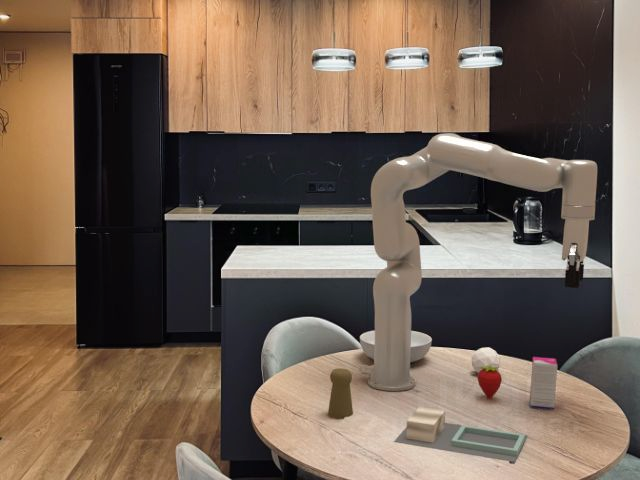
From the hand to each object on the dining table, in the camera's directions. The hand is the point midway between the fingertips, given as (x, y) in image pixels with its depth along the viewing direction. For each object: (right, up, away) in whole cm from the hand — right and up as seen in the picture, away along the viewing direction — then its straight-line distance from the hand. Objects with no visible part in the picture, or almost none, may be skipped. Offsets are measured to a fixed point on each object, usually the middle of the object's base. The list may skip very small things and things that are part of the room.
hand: (574, 283), depth 204 cm
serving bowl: (-39, -25, +44) cm, 64 cm away
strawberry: (-18, -30, +11) cm, 37 cm away
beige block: (-37, -33, -14) cm, 51 cm away
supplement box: (-6, -31, +7) cm, 32 cm away
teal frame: (-24, -34, -19) cm, 46 cm away
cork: (-56, -31, -1) cm, 64 cm away
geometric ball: (-15, -27, +31) cm, 44 cm away
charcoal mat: (-30, -34, -17) cm, 48 cm away
